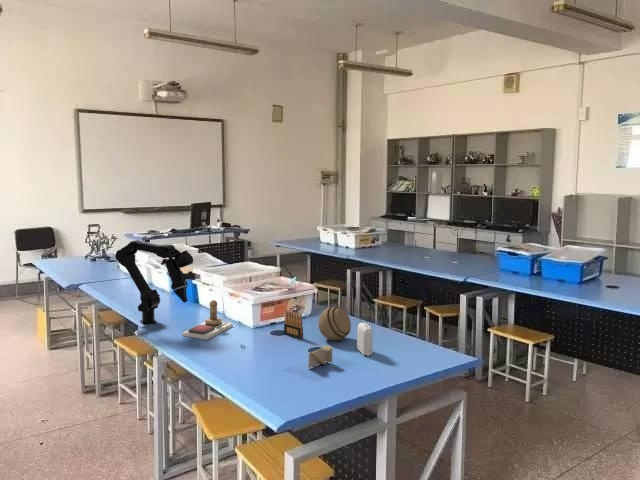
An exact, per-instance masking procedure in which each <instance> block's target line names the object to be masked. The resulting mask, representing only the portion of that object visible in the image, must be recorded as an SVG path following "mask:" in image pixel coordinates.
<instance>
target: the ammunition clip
mask: <svg viewBox="0 0 640 480" xmlns="http://www.w3.org/2000/svg"><path fill="white" fill-rule="evenodd" d="M284 315H285V316H284V323H283V335H285V336H288V337H291V338H295V339H298V340H303V339H304V327H303V315H302V312H299V311H297V312H296V310H291V309H290V308H289V309H288V308H286V309H285V313H284Z"/></svg>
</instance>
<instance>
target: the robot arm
mask: <svg viewBox="0 0 640 480" xmlns="http://www.w3.org/2000/svg"><path fill="white" fill-rule="evenodd" d="M138 251H142V252H145V253H146V252H147V253H151V254H153V255H154V254H155V255H156V256H157V257H159V258H161V259H162V260H161V263H160V265H161V266H163V265H165V267H166V270H167V272H168V277H169V278H170V282H171V284H170V288H171V290H172V292H173V293H175V295H176V296H177V297H178V298H179V299H180V300H181V301H182V302H183V303H187V302H188V295H187V288H188V287H189V285H188V284H189V283H188V281H187V280H191V281H196V273H195V272H193V271H190V270H189V271H188V272H186V273H184V272H183V270H181V269H183V268H185V267H188V266H189V265H192V264H193V263H194V257H193V256H192V254H191V253H190V252H189V251H188V250H183V251H182V252H180V251H179V250H178V249H177V248H176V247H175V245H173V244H157V243H150V242H147V241H146V242H145V241H140V240H137V239H136V240H131V241H130V242H129V243H128V244H127V245H125V246H123V247H122V248H120V249H117V250H116V251H115V256H114V257H115V260H116V261H117V262H118V263H119V264H120V265H121V266H122V267H124V268H125V270H126V271H127V272H128V274H129V275H130V278H131V280H132V282H134V285H135V287H136V288H137V290H138V291H139V294H140V302H141V303H140V304H139V305H138V306H137V311H138V312H141V318H142V319H140V320H139V321H140V322H141V324H142V325H148V324H156V323H158V321H157V320H156V318H155V310H156V309H158V307H159V305H160V304H161V297H160V296H161V295H160V294H159V293H158V291H157V289H156V288H155V289H152V288H150V286H149V284H148V283H147V281H146V279H145V276H144V275H143V273H142V272H141V271H140V269H139V267H138V265H137V263H136V256H135V255H136V254H137V253H138Z"/></svg>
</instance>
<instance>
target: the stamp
mask: <svg viewBox="0 0 640 480" xmlns="http://www.w3.org/2000/svg"><path fill="white" fill-rule="evenodd" d="M204 322H205V325H206V326H213V327H216V326H218V325H220V324H222V322H223V319H222V318H220V317H218V302H217V300H215V299H212V300H211V301H210V302H209V318H207V319H205V320H204Z"/></svg>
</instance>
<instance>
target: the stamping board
mask: <svg viewBox="0 0 640 480" xmlns="http://www.w3.org/2000/svg"><path fill="white" fill-rule="evenodd" d="M233 324H234V323H233V322H225V321H222V324H220V325H218V326H216V327H215V329H214V330H212V331H210V332H208V333H206V334H204V335H202V334H195V333H189V329H187V330H185V331H183V332H181V333H182V334H181V335H182V337H189V338H195V339H202V340H209V339H211V338H213V337H215V336H217V335H218V334H221V333H222V332H224V331H227V330H228V329H230V328H232V327H233V326H234V325H233ZM198 325H205V321H204V322H202V323H200V324H198ZM198 325H195V326H194V327H196V326H198ZM194 327H191V328H190V329H192V328H194Z"/></svg>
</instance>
